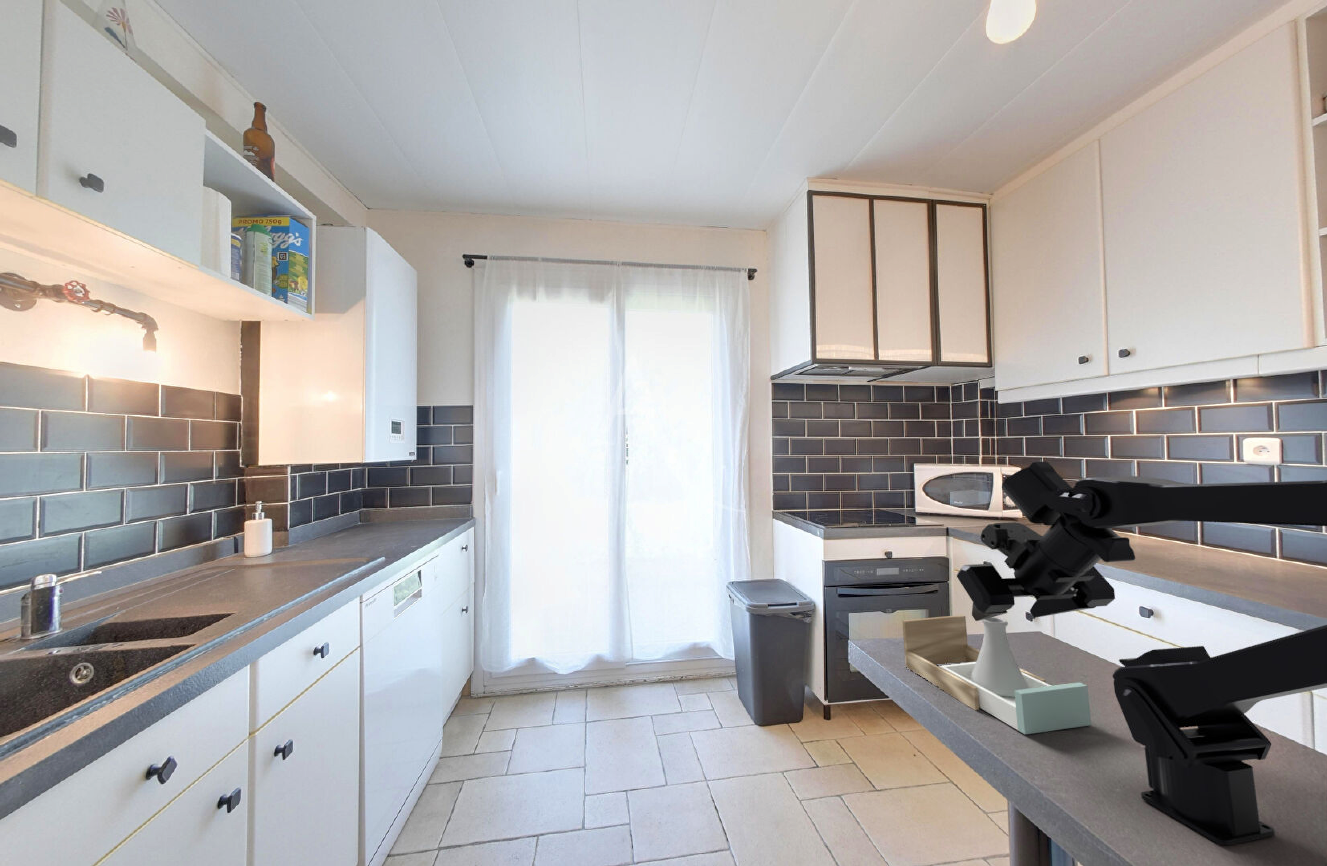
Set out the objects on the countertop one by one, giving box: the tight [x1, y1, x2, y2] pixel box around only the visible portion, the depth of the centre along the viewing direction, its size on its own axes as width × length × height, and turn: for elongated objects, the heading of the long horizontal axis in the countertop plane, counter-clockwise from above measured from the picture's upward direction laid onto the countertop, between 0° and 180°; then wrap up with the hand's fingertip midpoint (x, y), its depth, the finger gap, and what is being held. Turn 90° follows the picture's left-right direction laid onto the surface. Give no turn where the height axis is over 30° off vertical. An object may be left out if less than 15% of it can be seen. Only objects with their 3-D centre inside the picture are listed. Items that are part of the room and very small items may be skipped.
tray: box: [938, 662, 1092, 735], centre depth 68 cm, size 15×10×5 cm
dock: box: [901, 614, 1046, 711], centre depth 75 cm, size 15×12×8 cm
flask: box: [970, 616, 1029, 697], centre depth 71 cm, size 7×7×10 cm
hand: (1003, 616), depth 69 cm, fingers open, 9 cm apart
